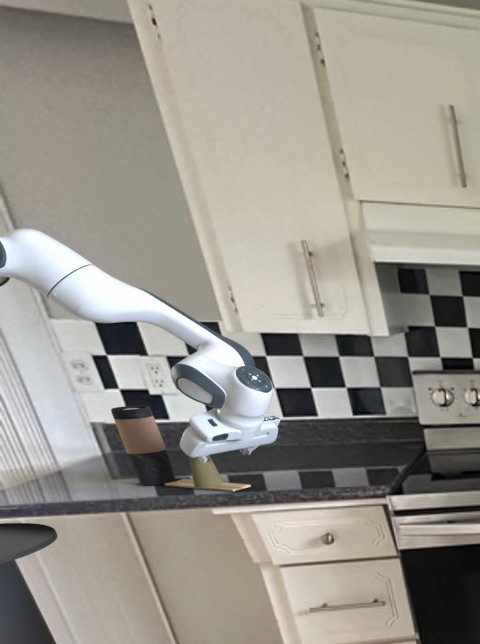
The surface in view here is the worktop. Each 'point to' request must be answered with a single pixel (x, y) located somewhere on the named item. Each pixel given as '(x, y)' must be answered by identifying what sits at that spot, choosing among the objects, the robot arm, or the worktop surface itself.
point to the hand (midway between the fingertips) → (224, 457)
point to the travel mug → (143, 444)
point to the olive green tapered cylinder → (204, 473)
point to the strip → (221, 487)
